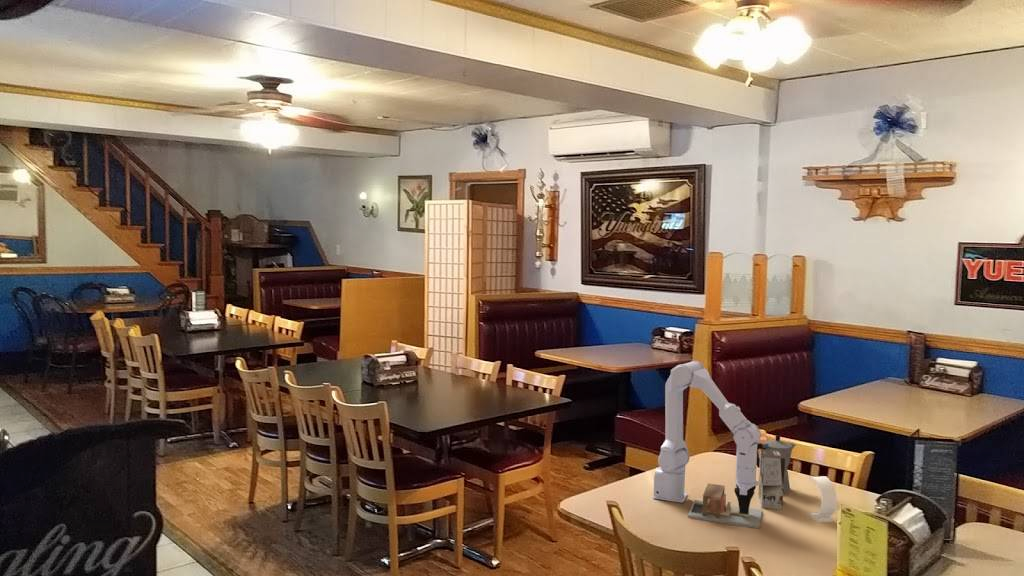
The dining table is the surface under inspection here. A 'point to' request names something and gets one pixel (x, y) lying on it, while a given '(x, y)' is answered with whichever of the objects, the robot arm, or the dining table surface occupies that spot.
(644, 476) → the dining table surface
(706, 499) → the bridge
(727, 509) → the sled
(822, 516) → the headphone stand
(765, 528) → the dining table surface
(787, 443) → the coffeepot
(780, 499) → the coffee box
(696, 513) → the track board
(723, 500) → the block
